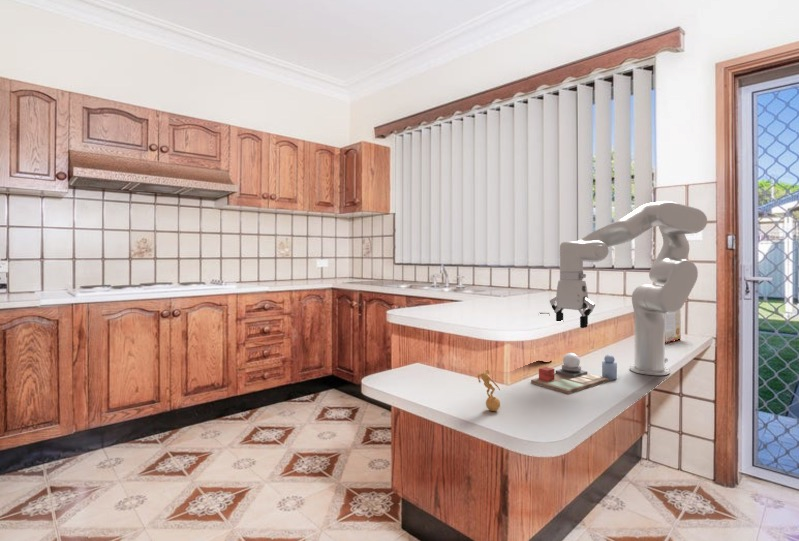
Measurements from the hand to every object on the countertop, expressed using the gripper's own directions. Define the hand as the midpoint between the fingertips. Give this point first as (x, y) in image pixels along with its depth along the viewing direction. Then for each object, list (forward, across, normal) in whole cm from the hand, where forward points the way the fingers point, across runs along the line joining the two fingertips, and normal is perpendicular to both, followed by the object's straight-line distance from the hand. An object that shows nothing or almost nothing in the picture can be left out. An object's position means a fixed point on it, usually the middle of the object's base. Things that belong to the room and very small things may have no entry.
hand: (571, 325), depth 151 cm
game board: (+18, -3, +6) cm, 19 cm away
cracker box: (+19, +8, -87) cm, 90 cm away
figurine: (+18, -6, +47) cm, 51 cm away
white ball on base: (+15, 0, 0) cm, 15 cm away
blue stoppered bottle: (+18, -9, -9) cm, 22 cm away
